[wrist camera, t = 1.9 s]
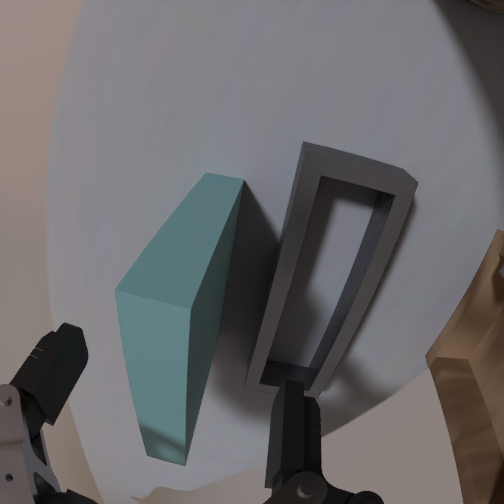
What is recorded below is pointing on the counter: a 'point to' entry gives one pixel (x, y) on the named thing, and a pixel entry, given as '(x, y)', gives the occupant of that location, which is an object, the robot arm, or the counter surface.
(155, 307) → the door panel
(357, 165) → the grey rectangular frame
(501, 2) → the canister
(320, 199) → the counter surface
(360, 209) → the counter surface
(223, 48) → the counter surface
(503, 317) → the cabinet
